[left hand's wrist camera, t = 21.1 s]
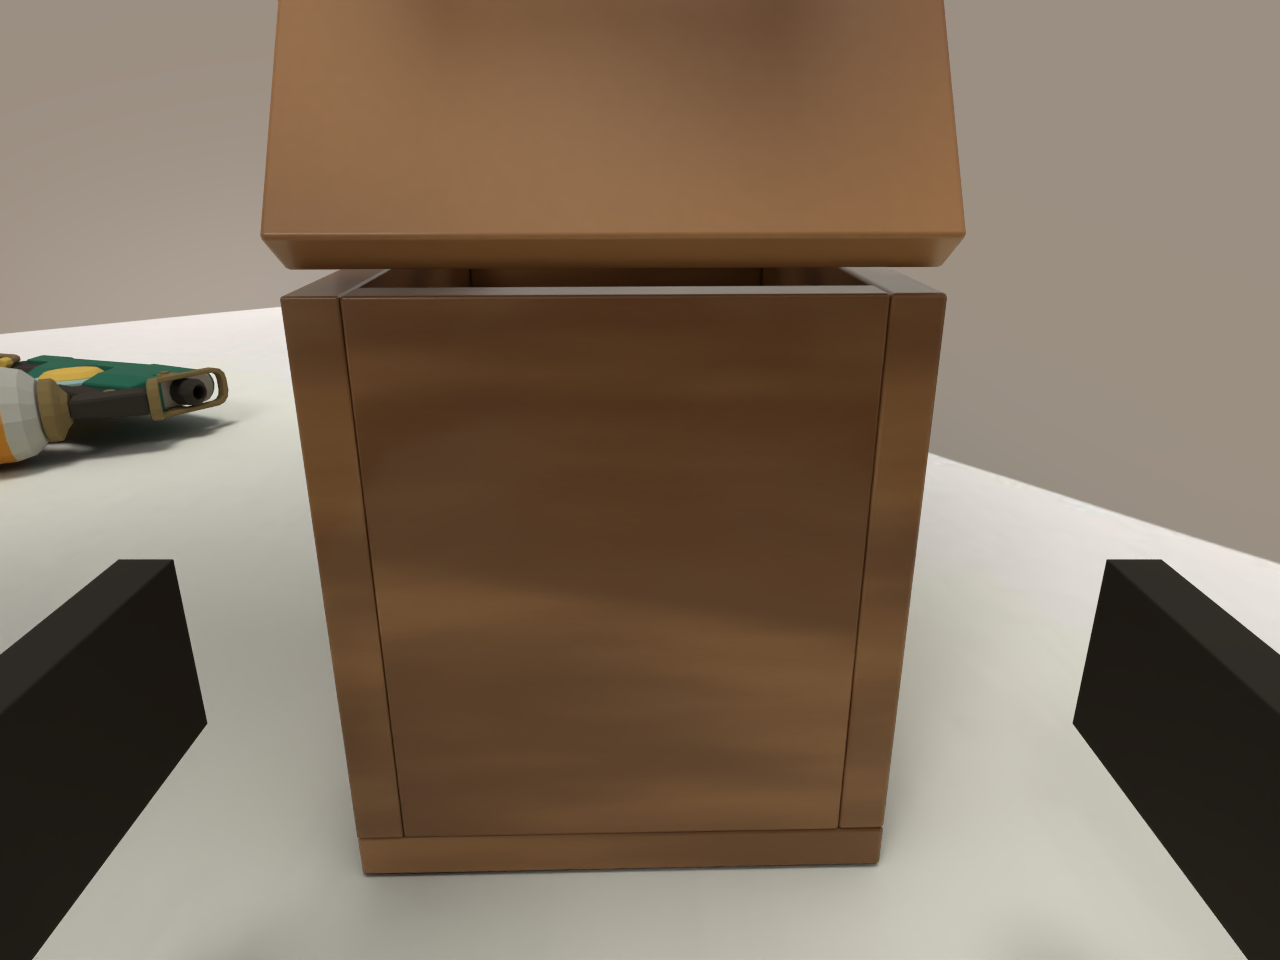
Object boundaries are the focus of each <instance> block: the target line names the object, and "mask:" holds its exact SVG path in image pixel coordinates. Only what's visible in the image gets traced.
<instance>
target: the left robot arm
mask: <svg viewBox="0 0 1280 960" xmlns="http://www.w3.org/2000/svg"><path fill="white" fill-rule="evenodd" d="M206 725H207V719H206V715H205V710H204V705H203V700H202V695H201V691H200V686H199V681H198V676H197V671H196V666H195V662H194V657H193V652H192V647H191V642H190V638H189V633H188V628H187V623H186V618H185V614H184V609H183V604H182V599H181V594H180V590H179V585H178V580H177V575H176V570H175V566H174V561H173V560H118V561H116V562H115V563H114V564H113V565H111V566H110V567H109V568H108V569H106V570H105V571H104V572H103V573H101V574H100V575H99V576H98V577H96V578H95V579H94V580H93V581H91V582H90V583H89V584H88V585H86V586H85V587H84V588H83V589H81V590H80V591H79V592H78V593H76V594H75V595H74V596H73V597H72V598H70V599H69V600H68V601H67V602H65V603H64V604H63V605H62V606H60V607H59V608H58V609H57V610H55V611H54V612H53V613H52V614H50V615H49V616H48V617H47V618H45V619H44V620H43V621H42V622H40V623H39V624H38V625H37V626H35V627H34V628H33V629H32V630H30V631H29V632H28V633H27V634H26V635H24V636H23V637H22V638H21V639H19V640H18V641H17V642H16V643H14V644H13V645H12V646H11V647H9V648H8V649H7V650H6V651H4V652H3V653H2V654H1V655H0V960H32V959H33V958H34V956H35V955H36V954H37V952H38V951H39V950H40V948H41V947H42V946H43V944H44V943H45V942H46V940H47V939H48V938H49V936H50V935H51V934H52V932H53V931H54V929H55V928H56V927H57V925H58V924H59V923H60V921H61V920H62V919H63V917H64V916H65V915H66V913H67V912H68V911H69V909H70V908H71V907H72V905H73V904H74V903H75V901H76V900H77V898H78V897H79V896H80V894H81V893H82V892H83V890H84V889H85V888H86V886H87V885H88V884H89V882H90V881H91V880H92V878H93V877H94V876H95V874H96V873H97V872H98V870H99V869H100V867H101V866H102V865H103V863H104V862H105V861H106V859H107V858H108V857H109V855H110V854H111V853H112V851H113V850H114V849H115V847H116V846H117V845H118V843H119V842H120V841H121V839H122V838H123V836H124V835H125V834H126V832H127V831H128V830H129V828H130V827H131V826H132V824H133V823H134V822H135V820H136V819H137V818H138V816H139V815H140V814H141V812H142V811H143V810H144V808H145V807H146V805H147V804H148V803H149V801H150V800H151V799H152V797H153V796H154V795H155V793H156V792H157V791H158V789H159V788H160V787H161V785H162V784H163V783H164V781H165V780H166V779H167V777H168V776H169V775H170V773H171V772H172V770H173V769H174V768H175V766H176V765H177V764H178V762H179V761H180V760H181V758H182V757H183V756H184V754H185V753H186V752H187V750H188V749H189V748H190V746H191V745H192V744H193V742H194V741H195V739H196V738H197V737H198V735H199V734H200V733H201V731H202V730H203V729H204V727H205V726H206ZM1073 725H1074V726H1075V727H1076V729H1077V730H1078V731H1079V733H1080V734H1081V735H1082V737H1083V738H1084V739H1085V741H1086V742H1087V744H1088V745H1089V746H1090V748H1091V749H1092V750H1093V752H1094V753H1095V754H1096V756H1097V757H1098V758H1099V760H1100V761H1101V762H1102V764H1103V765H1104V766H1105V768H1106V769H1107V770H1108V772H1109V773H1110V775H1111V776H1112V777H1113V779H1114V780H1115V781H1116V783H1117V784H1118V785H1119V787H1120V788H1121V789H1122V791H1123V792H1124V793H1125V795H1126V796H1127V797H1128V799H1129V800H1130V801H1131V803H1132V804H1133V805H1134V807H1135V808H1136V810H1137V811H1138V812H1139V814H1140V815H1141V816H1142V818H1143V819H1144V820H1145V822H1146V823H1147V824H1148V826H1149V827H1150V828H1151V830H1152V831H1153V832H1154V834H1155V835H1156V836H1157V838H1158V839H1159V841H1160V842H1161V843H1162V845H1163V846H1164V847H1165V849H1166V850H1167V851H1168V853H1169V854H1170V855H1171V857H1172V858H1173V859H1174V861H1175V862H1176V863H1177V865H1178V866H1179V867H1180V869H1181V870H1182V872H1183V873H1184V874H1185V876H1186V877H1187V878H1188V880H1189V881H1190V882H1191V884H1192V885H1193V886H1194V888H1195V889H1196V890H1197V892H1198V893H1199V894H1200V896H1201V897H1202V898H1203V900H1204V901H1205V903H1206V904H1207V905H1208V907H1209V908H1210V909H1211V911H1212V912H1213V913H1214V915H1215V916H1216V917H1217V919H1218V920H1219V921H1220V923H1221V924H1222V925H1223V927H1224V928H1225V929H1226V931H1227V932H1228V934H1229V935H1230V936H1231V938H1232V939H1233V940H1234V942H1235V943H1236V944H1237V946H1238V947H1239V948H1240V950H1241V951H1242V952H1243V954H1244V955H1245V956H1246V958H1247V959H1248V960H1280V655H1279V654H1278V653H1277V652H1276V651H1274V650H1273V649H1272V648H1271V647H1269V646H1268V645H1267V644H1266V643H1264V642H1263V641H1262V640H1261V639H1259V638H1258V637H1257V636H1256V635H1254V634H1253V633H1252V632H1251V631H1250V630H1248V629H1247V628H1246V627H1245V626H1243V625H1242V624H1241V623H1240V622H1238V621H1237V620H1236V619H1235V618H1233V617H1232V616H1231V615H1230V614H1228V613H1227V612H1226V611H1225V610H1223V609H1222V608H1221V607H1220V606H1218V605H1217V604H1216V603H1215V602H1213V601H1212V600H1211V599H1210V598H1208V597H1207V596H1206V595H1205V594H1204V593H1202V592H1201V591H1200V590H1199V589H1197V588H1196V587H1195V586H1194V585H1192V584H1191V583H1190V582H1189V581H1187V580H1186V579H1185V578H1184V577H1182V576H1181V575H1180V574H1179V573H1177V572H1176V571H1175V570H1174V569H1172V568H1171V567H1170V566H1169V565H1167V564H1166V563H1165V562H1164V561H1162V560H1107V561H1106V566H1105V570H1104V575H1103V580H1102V585H1101V590H1100V594H1099V599H1098V604H1097V609H1096V614H1095V618H1094V623H1093V628H1092V633H1091V638H1090V642H1089V647H1088V652H1087V657H1086V662H1085V666H1084V671H1083V676H1082V681H1081V686H1080V691H1079V695H1078V700H1077V705H1076V710H1075V715H1074V719H1073Z"/></svg>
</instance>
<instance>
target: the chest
mask: <svg viewBox="0 0 1280 960" xmlns="http://www.w3.org/2000/svg"><path fill="white" fill-rule="evenodd" d="M280 301H281V308H282V315H283V322H284V329H285V336H286V343H287V350H288V357H289V364H290V371H291V378H292V385H293V392H294V398H295V405H296V412H297V419H298V426H299V433H300V440H301V447H302V454H303V461H304V468H305V475H306V482H307V489H308V496H309V503H310V510H311V517H312V524H313V531H314V538H315V545H316V552H317V559H318V566H319V572H320V579H321V586H322V593H323V600H324V607H325V614H326V621H327V628H328V635H329V642H330V649H331V656H332V663H333V670H334V677H335V684H336V691H337V698H338V705H339V712H340V719H341V726H342V733H343V740H344V747H345V753H346V760H347V767H348V774H349V781H350V788H351V795H352V802H353V809H354V816H355V823H356V830H357V837H358V838H359V847H360V854H361V861H362V868H363V872H364V873H366V874H372V873H421V872H469V871H518V870H566V869H615V868H664V867H712V866H761V865H810V864H858V863H877V862H878V861H879V855H880V847H881V838H882V830H883V829H882V826H883V821H884V813H885V805H886V796H887V788H888V780H889V772H890V763H891V755H892V747H893V739H894V730H895V722H896V714H897V706H898V697H899V689H900V681H901V672H902V664H903V656H904V648H905V639H906V631H907V623H908V615H909V606H910V598H911V590H912V582H913V573H914V565H915V557H916V549H917V540H918V532H919V524H920V515H921V507H922V499H923V491H924V482H925V474H926V466H927V458H928V449H929V441H930V433H931V425H932V416H933V408H934V400H935V391H936V383H937V375H938V366H939V358H940V350H941V342H942V333H943V325H944V317H945V309H946V301H947V297H946V294H944V293H942V292H940V291H938V290H936V289H933V288H931V287H929V286H927V285H925V284H922V283H920V282H918V281H916V280H914V279H912V278H909V277H907V276H905V275H903V274H901V273H898V272H896V271H894V270H892V269H890V268H888V267H771V268H537V269H341V270H339V271H337V272H334V273H332V274H330V275H328V276H326V277H324V278H321V279H319V280H317V281H315V282H313V283H311V284H308V285H306V286H304V287H302V288H300V289H298V290H295V291H293V292H291V293H289V294H287V295H285V296H283V297H281V299H280Z"/></svg>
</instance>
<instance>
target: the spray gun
mask: <svg viewBox="0 0 1280 960" xmlns="http://www.w3.org/2000/svg"><path fill="white" fill-rule="evenodd" d="M19 361H20V357H19V356H17V355H14V354H0V464H3V463H11V462H18V461H22V460H25V459H28V458H30V457H33V456H36V455H38V454H39V453H40V452H41V451H42V450H43V448H44V447H45V446H46V445H47V444H48V443H49V442H58V441H63V440H65V438H66V435H67V433H68V430H69V428H70V427H71V425H72V424H73V423H74V419H93V418H108V417H123V416H139V415H148V414H149V413H150V414H151V416H152V419H153V420H154V421H157V420H164V418H167V417H171V416H175V415H180V414H184V413H188V412H192V411H197V410H201V409H205V408H209V407H214V406H218V405H221V404H222V403H224V402H225V401H226V399H227V397H228V386H227V380H226V377H225V374H224V372H223V371H221V370H220V369H217V368H203V369H189V368H181V367H174V366H166V365H158V364H150V365H149V364H136V363H123V362H110V361H97V360H85V359H74V358H71V357H59V356H46V355H43V356H38V357H35V358H31V359H28V360H27V361H21V362H19ZM209 373H213V374H215V376H216V379H217V383H218V389H219V392H218V396H217V398H216V399H215V400H213V401H209V402H205V403H203V401H206V400H208V399H210V397H211V396H212V394H213V392H214V381H213V378H212V377H211V375H210V374H209ZM183 405H192V406H188V407H187V406H183Z"/></svg>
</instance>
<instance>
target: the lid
mask: <svg viewBox="0 0 1280 960" xmlns="http://www.w3.org/2000/svg"><path fill="white" fill-rule="evenodd" d="M965 234H966V231H965V221H964V210H963V200H962V189H961V179H960V168H959V158H958V147H957V137H956V126H955V116H954V105H953V94H952V84H951V73H950V63H949V53H948V42H947V31H946V21H945V10H944V0H278V13H277V26H276V39H275V52H274V65H273V78H272V91H271V105H270V118H269V131H268V144H267V157H266V170H265V183H264V196H263V209H262V222H261V238H262V240H263V241H264V242H265V244H266V245H267V246H268V247H269V248H270V250H271V251H272V252H273V253H274V254H275V255H276V257H277V258H278V259H279V260H280V261H281V262H282V264H283V265H284V266H285V267H286V268H288V269H291V270H298V269H299V270H300V269H301V270H303V269H537V268H771V267H938V266H941V265H942V264H943V263H944V261H945V260H946V259H947V258H948V257H949V255H950V254H951V253H952V252H953V250H954V249H955V248H956V247H957V245H958V244H959V243H960V242H961V240H962V239H963V238H964V236H965Z"/></svg>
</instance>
